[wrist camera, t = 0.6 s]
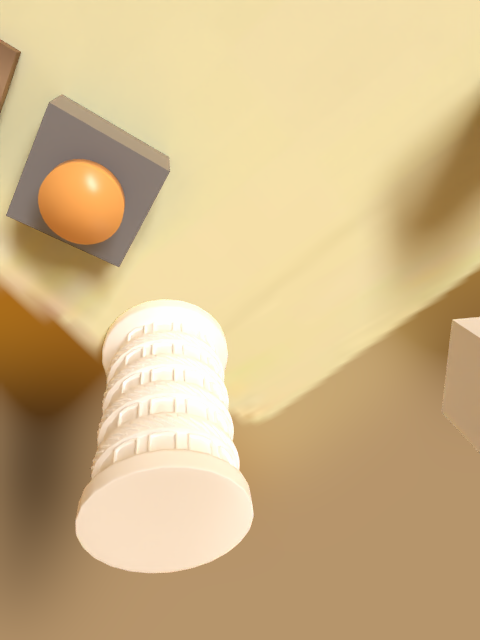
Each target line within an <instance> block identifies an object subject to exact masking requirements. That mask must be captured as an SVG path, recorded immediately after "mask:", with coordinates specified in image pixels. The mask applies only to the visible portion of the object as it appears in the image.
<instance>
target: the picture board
mask: <svg viewBox="0 0 480 640" xmlns="http://www.w3.org/2000/svg"><path fill="white" fill-rule="evenodd" d="M20 53H21V52H20V51H19V50H17V49H15V48H14V47H12V46H10V45H9V44H7V43H5V42H4V41H2V40H0V112H1V109H2V106H3V103H4V101H5V98H6V95H7V92H8V89H9V86H10V83H11V80H12V77H13V74H14V71H15V68H16V65H17V62H18V59H19V56H20Z"/></svg>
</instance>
